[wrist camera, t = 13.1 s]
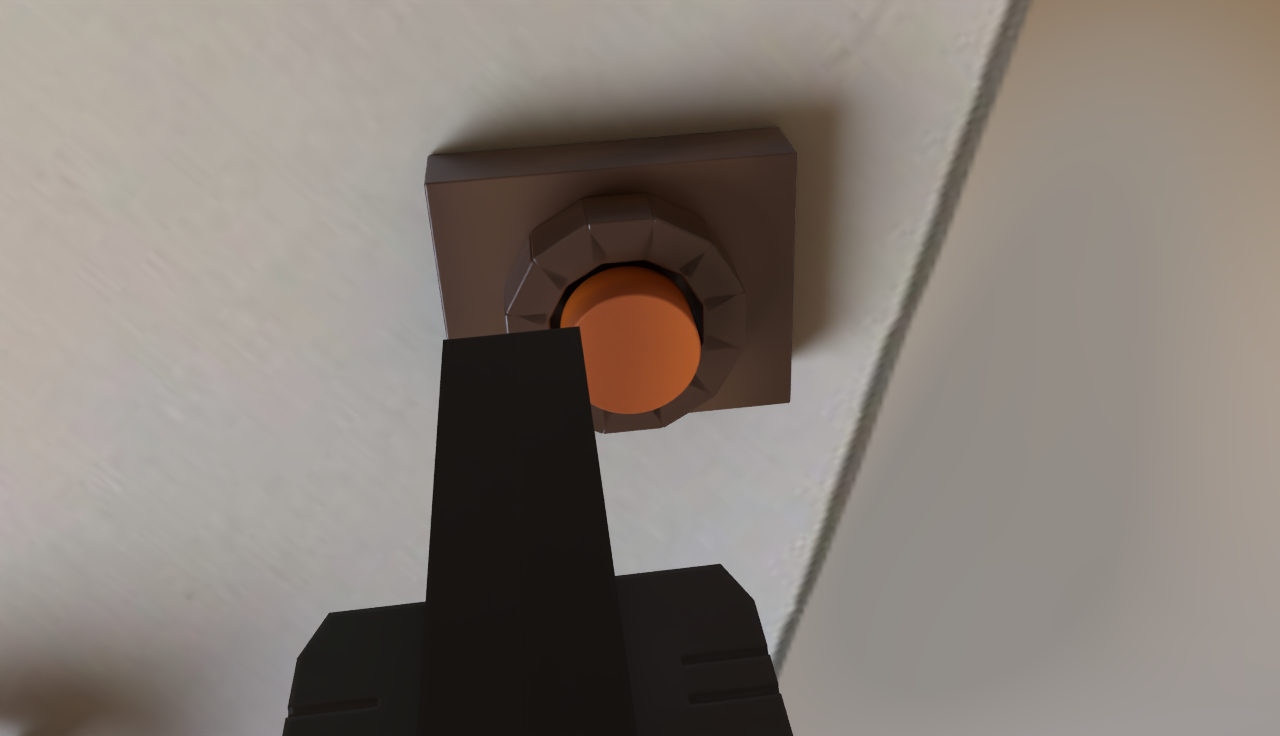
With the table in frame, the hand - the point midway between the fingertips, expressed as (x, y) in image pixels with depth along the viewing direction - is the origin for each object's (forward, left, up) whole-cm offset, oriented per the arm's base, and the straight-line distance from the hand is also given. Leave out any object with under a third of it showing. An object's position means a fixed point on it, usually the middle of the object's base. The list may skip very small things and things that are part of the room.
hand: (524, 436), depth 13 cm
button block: (-3, +8, -20) cm, 22 cm away
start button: (-3, +8, -17) cm, 18 cm away
